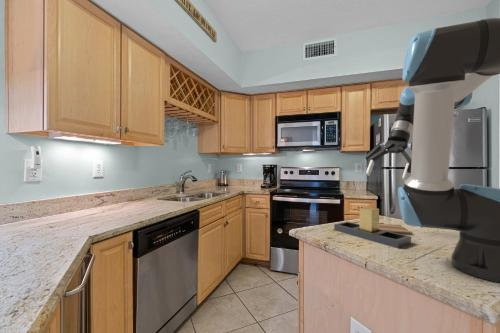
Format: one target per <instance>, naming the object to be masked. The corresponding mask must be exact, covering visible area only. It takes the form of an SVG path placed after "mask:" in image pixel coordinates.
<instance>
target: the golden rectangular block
mask: <svg viewBox="0 0 500 333" xmlns="http://www.w3.org/2000/svg"><path fill="white" fill-rule="evenodd" d="M359 224H360V230H361V231H365V232H369V233H375V232H379V224H380V209H379V208H378V207H377V208H376V207H371V206H370V207H369V206H364V207H359Z"/></svg>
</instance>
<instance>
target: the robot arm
mask: <svg viewBox="0 0 500 333" xmlns="http://www.w3.org/2000/svg"><path fill="white" fill-rule="evenodd" d="M496 75H500V17H493V18H492V17H489V18H483V19H480V20H476V21H470V22H464V23H460V24H453V25H448V26H443V27H436V28H432V29H428V30H426V31H422V32H418V33H416V34H415V35H413V36H412V37H411V39H410V40H409V43H408V45H407V49H406V53H405V56H404V60H403V66H402V77H401V78H402V81H403V82H405V83H408V85H407V86H406V87H405V88H403V90H402V91H401V94H400V96H399V104H398V107H397V111H396V116H395V119H394V121H393V125H392V126H391V129H390V133H389V135H388V137H387V141H386V142H382V141H380V140H379V141H378V142H377V144H376V146H375V147H373V148H372V150H370V151H369V152H368V153H367V154H366V155H365V157H364V159H365V160H366V161H367V163H366V167H367V168H366V172H365V173H366V175H367V177H370V176H371V174H372V171H373V168H374V166H375V161H377V160H378V159H380V158H382V157H383V156H385V155H388V154H389V153H390V154H400V153H401V155H402V157H403V158H405V160H406V161H407V163H406V164H405V167H404V169H403V170H404V171H403V173H402V177H401V178H402V181H403V183H404V184H403V186H399V187H398V189H397V197H398V205H399V210H400V215H401V218H402V222H404V223H405V225H407V226H411V227H419V228H420V229H421V228H426V229H427V228H428V229H429V228H430V229H440V230H452V231H459V239H458V241H457V243H456V245H455V247H454V250H453V251H452V253H451V258H450V259H451V261H450V262H451V266H453V267H454V268H455V269H457V270H459V271H461V272H463V273H465V274H468V275H470V276H473V277H475V278H479V279H482V280H485V281H486V280H487V281H491V282H495V283H500V188H497V187H491V186H484V185H483V186H482V185H477V184H466V183H462V184H460V185H459V187H458V188H455V184H454V182H452V181H451V180H450V179H449V171H450V170H449V168H450V157H451V149H452V147H451V146H452V145H451V144H452V137H453V124H454V123H453V122H454V115H455V114H454V112H455V108H456V107H461V106H466V105H468V104H470V102H471V100H473V99H472V98H473V92H474V91H475V90H476V89H479V87H481V85H483V84H485V82H487V81H488V80H489V79H491V78H492V77H494V76H496ZM411 135H412V142H411V143H409V140H410V137H411ZM408 148H409V149H410V150H411V156H410V155H409V154H408V153H407V151H405V150H406V149H408ZM409 174H410V176H409Z"/></svg>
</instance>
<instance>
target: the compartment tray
mask: <svg viewBox="0 0 500 333" xmlns="http://www.w3.org/2000/svg"><path fill="white" fill-rule="evenodd" d="M333 227H334V228H333V229H334V231H335V232H338V233H341V234H347V235H348V236H349V235H350V236H353V237H356V238H359V239H363V240H366V241H369V242H374V243H378V244H380V245H384V246H388V247H391V248H395V249H400V248H403V247H406V246H409V245H411V244H412V235H402V234H398V233H394V232H390V231H385V230H381V229H379V232H375V233H369V232H365V231H361V230H360V223H354V222H351V221H344V222H340V223H334V226H333Z"/></svg>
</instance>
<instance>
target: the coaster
mask: <svg viewBox="0 0 500 333" xmlns="http://www.w3.org/2000/svg"><path fill="white" fill-rule="evenodd" d="M379 229H381V230H385V231H390V232H394V233H398V234H402V235H407V236H413V232H412V231H410V230H409V229H407V228H406V227H404V226H402V225H401V224H392V223H388V224H386V223H385V224H384V223H379Z"/></svg>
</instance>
